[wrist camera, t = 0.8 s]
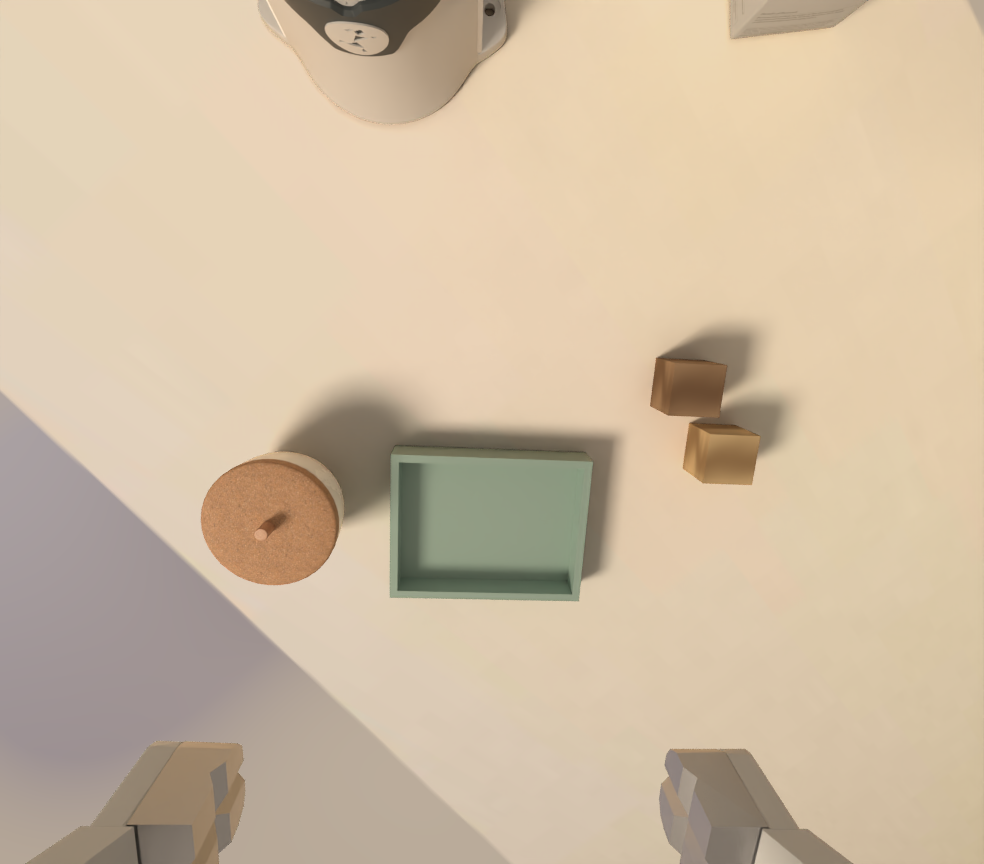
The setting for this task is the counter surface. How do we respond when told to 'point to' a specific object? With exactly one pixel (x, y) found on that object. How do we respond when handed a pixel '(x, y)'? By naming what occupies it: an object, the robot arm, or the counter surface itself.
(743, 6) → the supplement box
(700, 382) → the walnut block
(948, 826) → the counter surface
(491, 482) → the tray
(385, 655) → the counter surface
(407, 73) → the robot arm
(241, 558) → the lidded jar
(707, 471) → the oak block
